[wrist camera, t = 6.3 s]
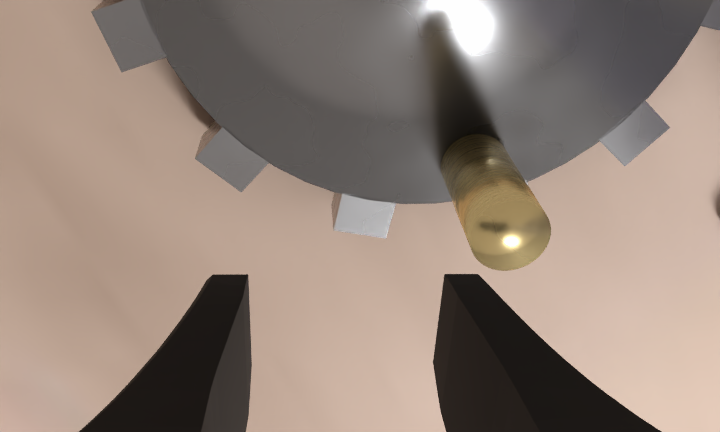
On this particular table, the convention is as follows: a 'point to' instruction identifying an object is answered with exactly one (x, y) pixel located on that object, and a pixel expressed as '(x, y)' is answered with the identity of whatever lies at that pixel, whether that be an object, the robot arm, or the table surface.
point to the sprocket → (416, 96)
